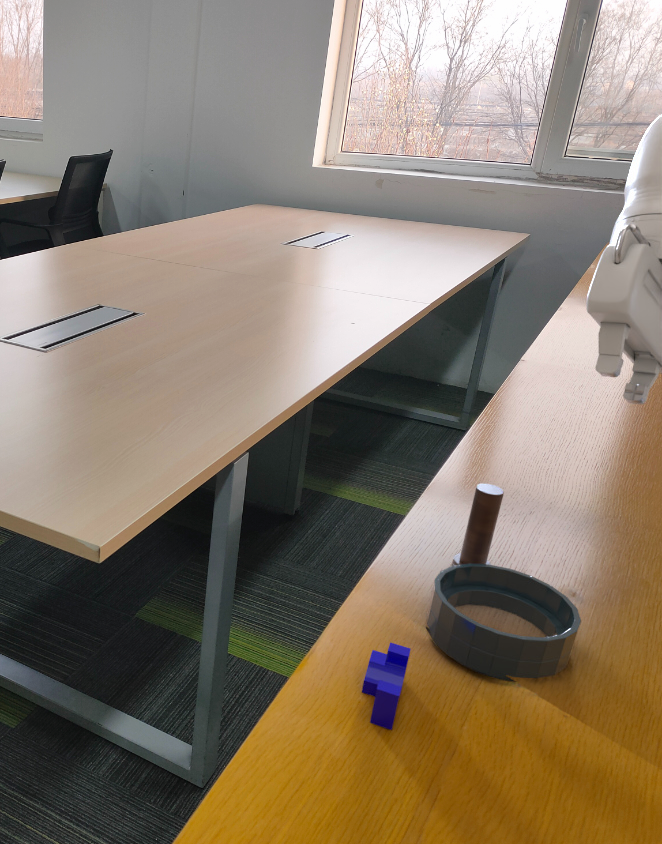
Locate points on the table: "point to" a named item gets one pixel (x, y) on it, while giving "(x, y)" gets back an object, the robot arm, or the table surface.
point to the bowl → (493, 647)
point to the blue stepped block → (386, 683)
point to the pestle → (480, 525)
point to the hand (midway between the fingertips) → (620, 389)
